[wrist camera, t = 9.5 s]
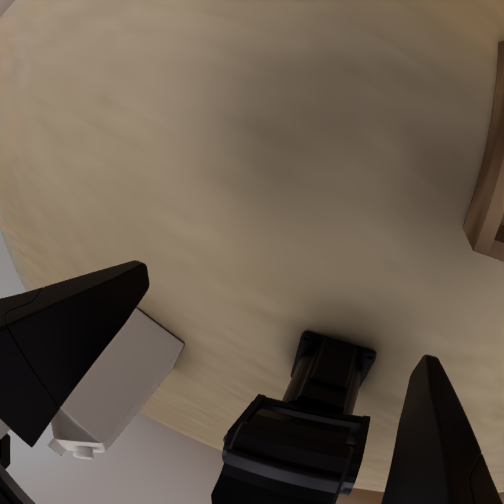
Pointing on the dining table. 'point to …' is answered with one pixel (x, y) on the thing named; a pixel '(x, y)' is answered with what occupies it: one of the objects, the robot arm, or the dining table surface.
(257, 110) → the dining table surface
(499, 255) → the walled box
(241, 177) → the dining table surface
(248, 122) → the dining table surface
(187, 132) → the dining table surface
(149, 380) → the milk carton
